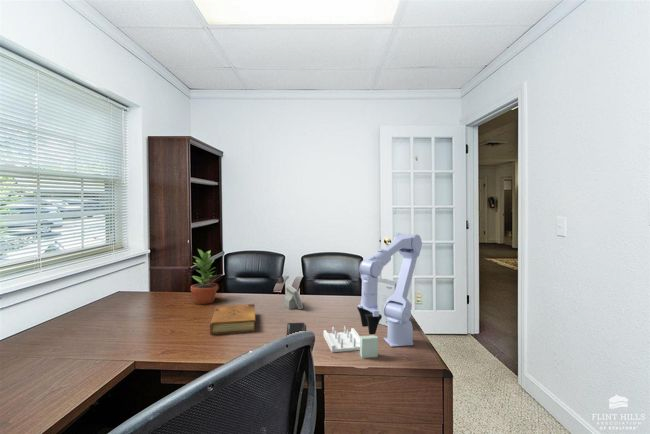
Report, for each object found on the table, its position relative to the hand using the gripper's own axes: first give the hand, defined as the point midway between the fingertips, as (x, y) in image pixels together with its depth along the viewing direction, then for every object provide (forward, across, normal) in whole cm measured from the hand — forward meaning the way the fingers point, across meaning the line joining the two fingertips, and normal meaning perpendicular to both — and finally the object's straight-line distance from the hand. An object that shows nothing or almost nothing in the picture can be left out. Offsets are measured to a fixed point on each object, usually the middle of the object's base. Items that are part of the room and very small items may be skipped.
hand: (368, 330), depth 120 cm
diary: (+11, -43, -50) cm, 67 cm away
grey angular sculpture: (+10, -64, -20) cm, 68 cm away
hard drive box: (+9, -31, +19) cm, 38 cm away
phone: (+10, -29, -23) cm, 38 cm away
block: (+10, 0, 0) cm, 10 cm away
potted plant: (+10, -82, -68) cm, 107 cm away
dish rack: (+10, -13, -6) cm, 17 cm away
